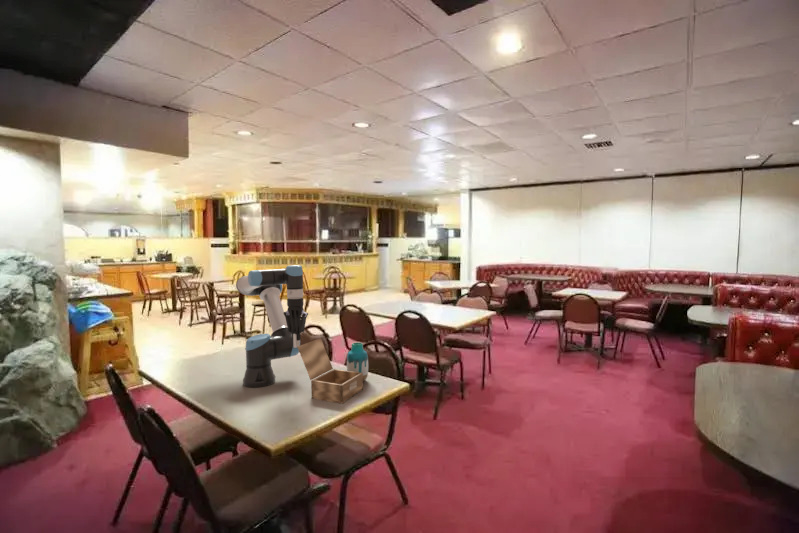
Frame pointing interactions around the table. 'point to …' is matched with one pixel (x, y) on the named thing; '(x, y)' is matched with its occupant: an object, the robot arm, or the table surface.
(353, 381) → the wooden box
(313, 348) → the flap
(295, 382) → the table surface
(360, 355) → the vase
